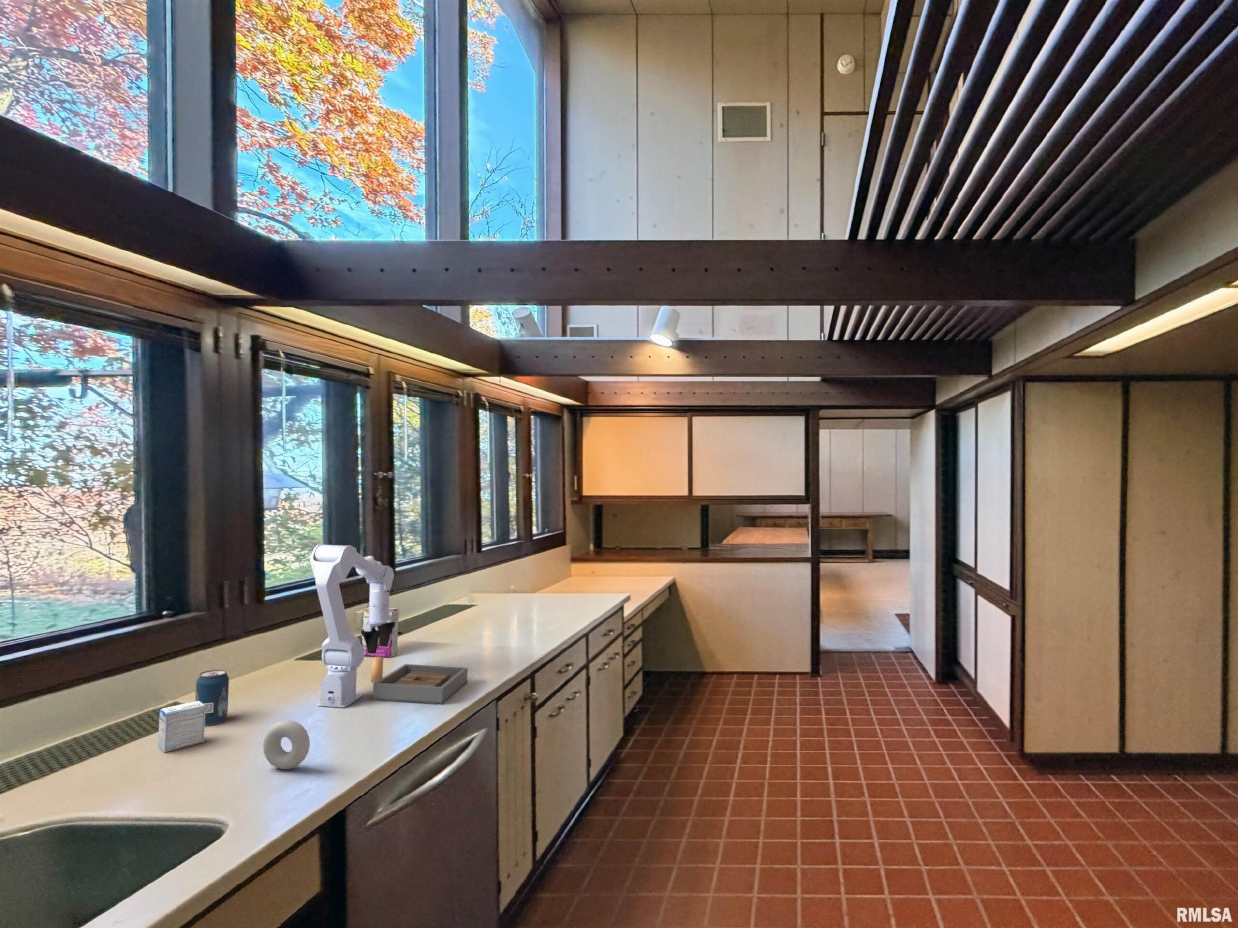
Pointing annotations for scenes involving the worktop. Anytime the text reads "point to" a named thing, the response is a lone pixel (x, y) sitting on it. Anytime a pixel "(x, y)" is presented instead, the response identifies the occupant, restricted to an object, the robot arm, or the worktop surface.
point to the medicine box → (181, 726)
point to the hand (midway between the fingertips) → (378, 649)
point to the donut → (275, 750)
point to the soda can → (213, 695)
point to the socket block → (424, 679)
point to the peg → (377, 669)
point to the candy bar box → (381, 651)
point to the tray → (416, 693)
